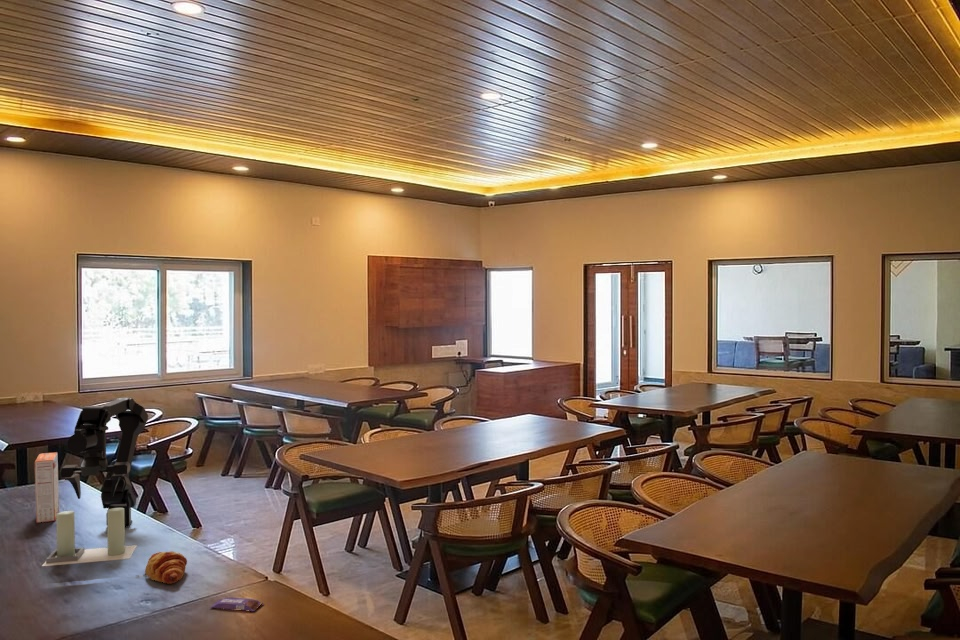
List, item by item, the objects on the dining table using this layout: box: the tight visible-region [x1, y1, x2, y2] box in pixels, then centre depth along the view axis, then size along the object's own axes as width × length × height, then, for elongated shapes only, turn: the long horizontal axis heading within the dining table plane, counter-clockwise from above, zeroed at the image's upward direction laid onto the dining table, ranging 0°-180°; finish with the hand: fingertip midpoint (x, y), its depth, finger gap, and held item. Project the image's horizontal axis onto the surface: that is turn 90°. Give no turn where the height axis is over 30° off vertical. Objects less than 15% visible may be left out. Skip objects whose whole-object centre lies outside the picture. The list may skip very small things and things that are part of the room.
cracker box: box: [34, 451, 60, 524], centre depth 251 cm, size 14×6×21 cm, turn 25°
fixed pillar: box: [106, 508, 126, 556], centre depth 211 cm, size 4×4×12 cm
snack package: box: [210, 597, 262, 612], centre depth 176 cm, size 12×2×5 cm
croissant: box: [144, 551, 188, 585], centre depth 197 cm, size 21×10×8 cm, turn 35°
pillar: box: [56, 510, 76, 557], centre depth 208 cm, size 4×4×12 cm
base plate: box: [41, 544, 138, 567], centre depth 210 cm, size 22×12×2 cm, turn 106°
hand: (95, 497), depth 226 cm, fingers open, 9 cm apart
